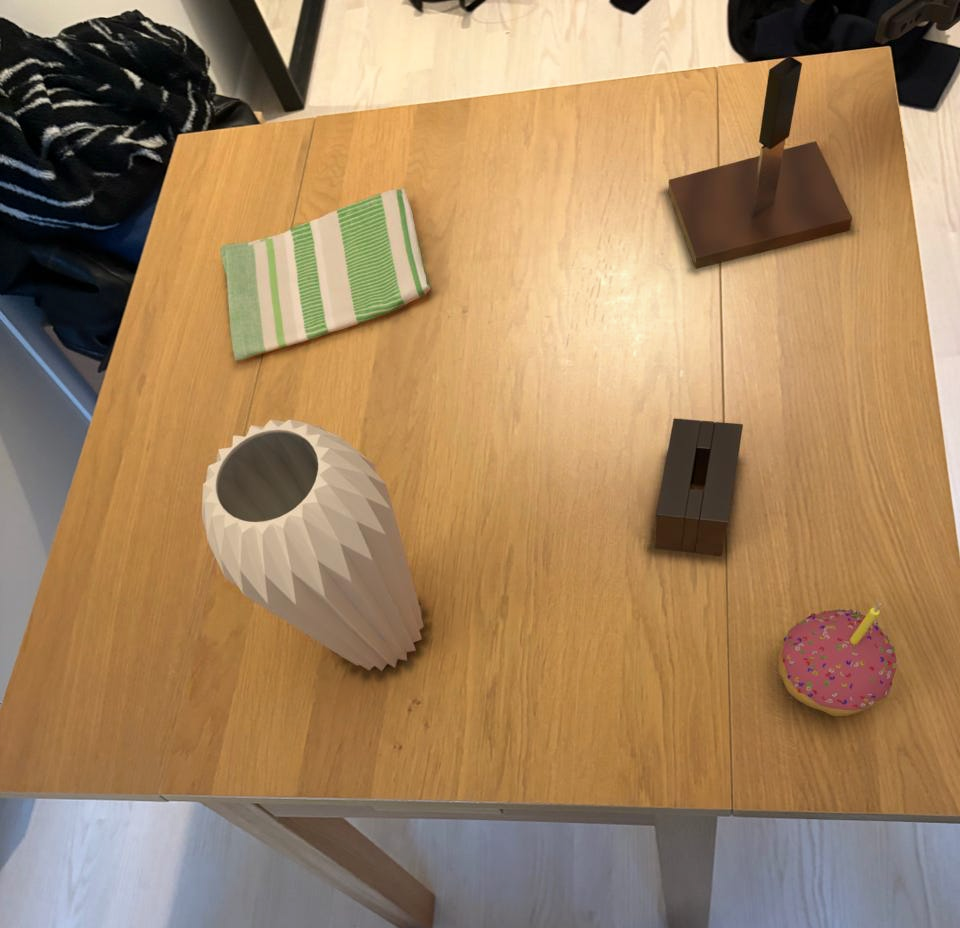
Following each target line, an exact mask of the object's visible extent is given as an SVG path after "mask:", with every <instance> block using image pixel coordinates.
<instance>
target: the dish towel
mask: <svg viewBox="0 0 960 928" xmlns="http://www.w3.org/2000/svg"><path fill="white" fill-rule="evenodd" d="M220 257H221V261H222V265H223V269H224V273H225V277H226V286H227V287H226V288H227V302H228V303H227V304H228V317H229V332H230V340H231V348H232V349H231V350H232V353H233V357H234V360H235V361H236V362H240V361H245V360H248V359H250V358H252V357H256V356H259V355H261V354H266V353H269V352H272V351H275V350H279V349H283V348H287V347H290V346H293V345H297V344H300V343H303V342H308V341H310V340H315V339H317V338H320V337H322V336H325V335H327V334H331V333H333V332H339V331H341V330H345V329H347V328H350V327H354V326H356V325H359V324H362V323H366V322H369V321H372V320H374V319H376V318H379V317H382V316H384V315H387V314H390V313H392V312H395V311H397V310H398V309H400V308H403V307H405V306H406V305H407V304H409V303H411V302H413V301H415V300H417V299H419V298H421V297H423V296H424V295H426V294H427V293H428V292H429V291H430V290H431V288H432V285H431V283H430V281H429V278H428V274H427V270H426V265H425V263H424V262H425V261H424V258H423V254H422V250H421V245H420V241H419V237H418V233H417V228H416V224H415V219H414V213H413V210H412V206H411V203H410V199H409V197H408V194H407V191H406V189H405V188H399V189H389V190H386V191H383V192H380V193H378V194H376V195H375V194H374V195H372V196H370V197H367V198H365V199H362V200H359V201H355V202H353V203H350V204H348V205H345V206H342V207H340V208H338V209H336V210H334V211H331V212H329V213H326V214H324V215H321V216H320V217H318V218H315V219H312V220H309V221H307V222H303V223H300V224H297V225H295V226H293V227H292V228H289V229H288V230H286V231H284V232H282V233H279V234H276V235H272V236H267V237H263V238H259V239H255V240H251V241H243V242H232V243H228V244H224V245H221V246H220Z"/></svg>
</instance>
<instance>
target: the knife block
mask: <svg viewBox="0 0 960 928" xmlns="http://www.w3.org/2000/svg"><path fill="white" fill-rule="evenodd" d="M743 428H744V424H743V423H734V422H722V421H710V420H698V419H689V418H688V419H686V418H673V420H672V425H671V431H670V436H669V441H668V447H667V453H666V458H665V463H664V469H663V475H662V479H661V486H660V492H659V496H658V501H657V506H656V507H657V508H656V514H655V532H654V533H655V536H654V548H655V549H661V550H669V551H677V552H685V553H697V554H702V555H711V556H723V554H724V547H725V544H726V543H725V542H726V536H727V534H728V527H729V522H730V516H731V510H732V509H731V508H732V503H733V495H734V490H735V489H734V488H735V481H736V475H737V469H738V468H737V467H738V462H739V461H738V460H739V453H740V447H741V441H742V434H743ZM693 486H702V487H703V489H695V488H693Z"/></svg>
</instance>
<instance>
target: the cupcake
mask: <svg viewBox="0 0 960 928" xmlns="http://www.w3.org/2000/svg"><path fill="white" fill-rule="evenodd" d="M882 604H883V603H882V602H878V604H877V605H876V607H871V608H870V609H869V610H868V612H867V614H866V615H865V614H864V613H861V611H860V610H855V612H854V610H853V609H849V610H846V609H845V608H844V607H843V608H840V609H833V610H827V611H826V610H822V611H821V612H818V613H811V614H810V615H808V616H807V617H806V618H804V619H803V620H801V621H800V622H797V623H796V624H795V625H794V626H793V627H791V628H790V629H789V630H788V632H787V634H786V635H785V637H784V638H783V641H782V643H781V646H780V651H779V657H778V667H777V668H778V673H779V675H780V677H781V679H782V681H783V684H784V686H785V689H786V690H787V692H788V693H789V694H790V695H791V697H793V698H795V700H797V701H799V702H801V703H802V704H804V705H806V706H808V707H810V708H812V709H816V710H818V711H821V712H823V713H826V714H828V715H830V716H832V717H847V716H852V715H856V714H858V713H861V712H863V711H865V710H868V709H869V708H871V707H873V706H874V705H876V704H878V703H880V702H881V701H883V700H884V699H885V698H886V697H887V696H888V694H889V693H890V690H891V688H892V684H893V679H894V677H895V673H896V670H897V668H898V666H899V662H898V658H897V655H896V648H895V647H894V645H893V643H892V642H891V640H890V639H889V638H890V637H889V634H887V632H886V630H883V629H882V628H881V627H880V626H879V625H878V622H876V619H877V618H878V616H879V614H880V613H881V611H880V608H881V606H882Z"/></svg>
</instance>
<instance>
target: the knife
mask: <svg viewBox="0 0 960 928" xmlns="http://www.w3.org/2000/svg"><path fill="white" fill-rule="evenodd" d="M802 65H803V63H802V62H801V61H799V60H798V59H796V58H794V57H793V56H791V55H788V56H787V57H785V58H783V59H782V60H781V61H780V62H778V63H777V64H775V65H774V66H773V67H771V68H769V70H768V75H767V83H766V90H765V95H764V96H765V97H764V102H763V103H764V104H763V111H762V118H761V124H760V131H759V139H758V143H759V144H761V145H762V146H760V151H759V156H760V157H759V164H758V171H757V177H756V184H755V191H754V198H753V204H752V211H751V218H752V219H753V218H754V217H756V216H757V215H758V214H760V213H761V212H763V211H764V210H765V209H767V208H768V207H770V206H771V205H772V204H774V202H775V196H776V190H777V185H778V179H779V173H780V168H781V162H782V156H783V151H784V149H785V145H786V140H787V139H788V138H789V137H790V134H791V128H792V123H793V117H794V111H795V106H796V102H797V101H796V100H797V94H798V91H799V88H798V87H799V83H800V79H801V73H802V67H803V66H802Z"/></svg>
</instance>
